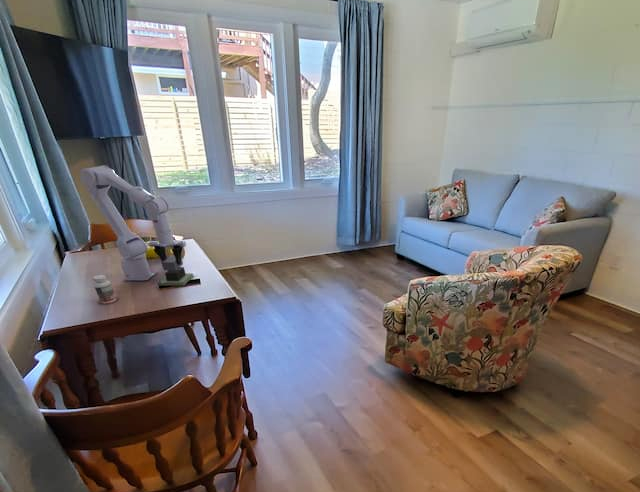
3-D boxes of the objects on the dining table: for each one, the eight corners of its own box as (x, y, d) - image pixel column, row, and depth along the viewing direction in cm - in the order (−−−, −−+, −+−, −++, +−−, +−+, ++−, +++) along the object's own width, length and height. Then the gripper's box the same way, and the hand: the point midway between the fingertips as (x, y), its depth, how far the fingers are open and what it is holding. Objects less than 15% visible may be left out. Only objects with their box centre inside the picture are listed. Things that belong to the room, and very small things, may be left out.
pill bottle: (98, 301, 151) (88, 277, 145) (113, 296, 154) (104, 272, 149) (104, 305, 148) (94, 280, 142) (119, 300, 151) (110, 276, 146)
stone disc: (164, 264, 184) (158, 243, 179) (163, 262, 187) (157, 241, 182) (187, 260, 189) (182, 239, 183) (186, 258, 191) (181, 237, 186)
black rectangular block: (166, 281, 163) (164, 273, 162) (174, 274, 170) (172, 267, 168) (178, 281, 163) (176, 273, 162) (185, 274, 169) (183, 267, 168)
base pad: (160, 285, 163) (159, 282, 162) (170, 276, 172) (169, 273, 171) (184, 285, 163) (183, 282, 162) (193, 276, 171) (192, 273, 171)
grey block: (163, 270, 161) (161, 262, 159) (171, 264, 167) (169, 256, 165) (175, 270, 161) (173, 262, 159) (183, 264, 167) (181, 256, 165)
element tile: (171, 256, 194) (168, 247, 191) (138, 259, 191) (135, 249, 188) (176, 247, 206) (174, 238, 203) (145, 250, 203) (143, 240, 201)
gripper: (140, 233, 153) (150, 267, 160) (177, 233, 152) (186, 267, 160) (149, 228, 159) (158, 261, 166) (184, 228, 158) (192, 261, 166)
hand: (172, 264), depth 163 cm, fingers closed on grey block, 5 cm apart
